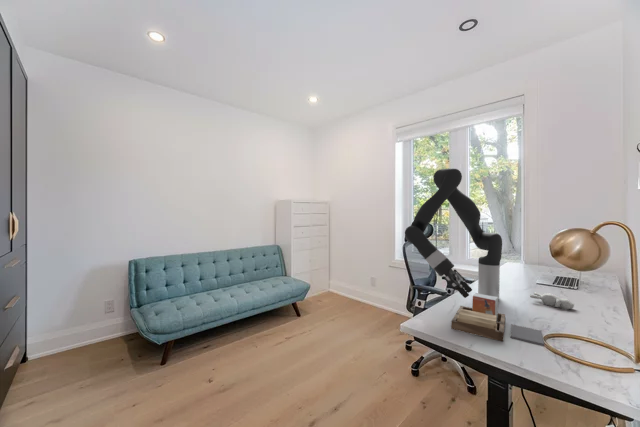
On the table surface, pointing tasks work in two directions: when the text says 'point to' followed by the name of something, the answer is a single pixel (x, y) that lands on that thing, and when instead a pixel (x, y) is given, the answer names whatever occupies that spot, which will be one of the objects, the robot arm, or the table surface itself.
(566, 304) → the bunny figurine
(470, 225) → the robot arm
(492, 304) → the small box
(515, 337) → the charcoal mat
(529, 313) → the table surface
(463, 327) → the walnut rack
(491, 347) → the table surface
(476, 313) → the offcut stack
